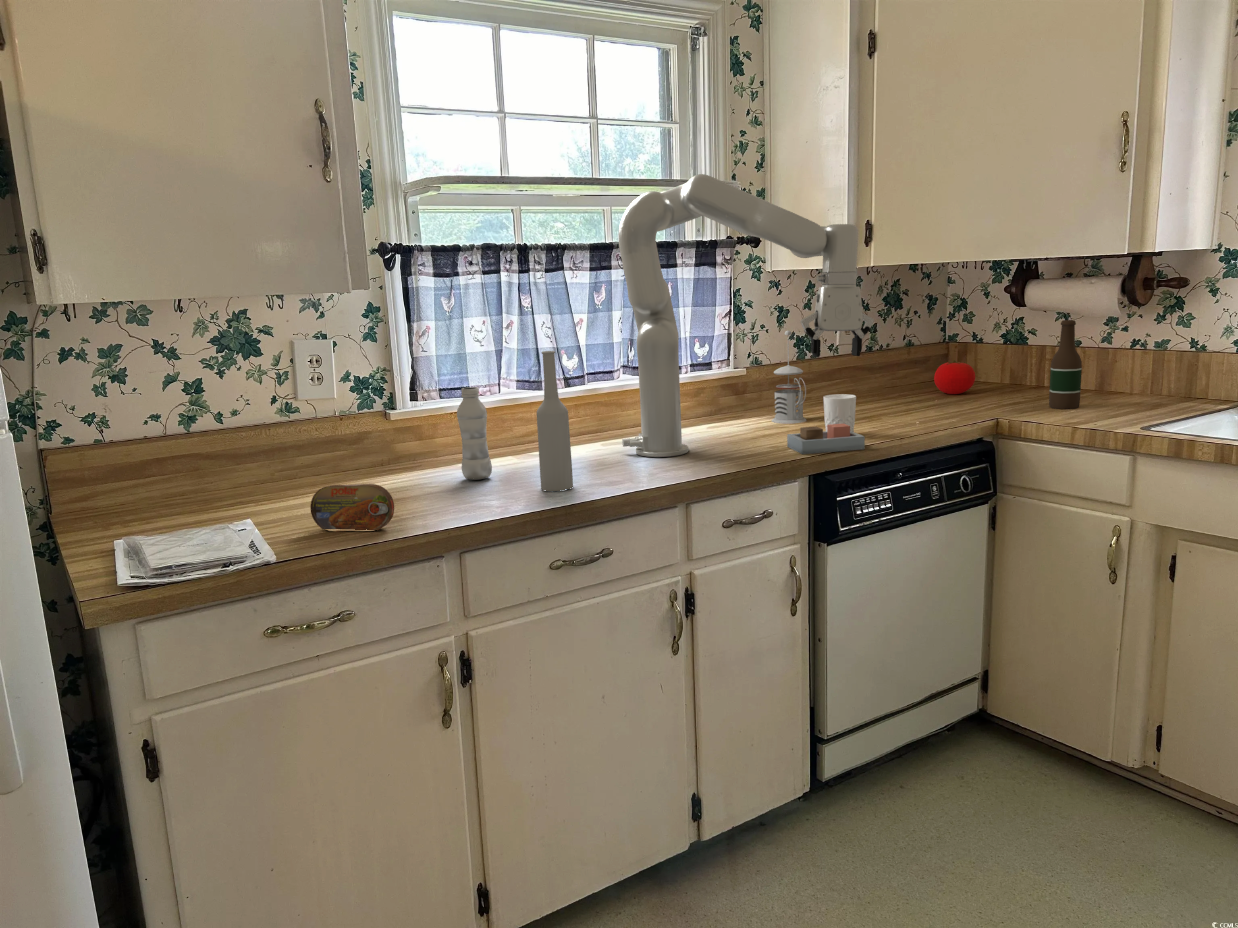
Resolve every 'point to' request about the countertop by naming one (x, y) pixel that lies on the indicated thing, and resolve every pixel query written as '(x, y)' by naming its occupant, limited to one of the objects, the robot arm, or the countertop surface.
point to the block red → (838, 430)
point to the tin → (352, 507)
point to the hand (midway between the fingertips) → (835, 356)
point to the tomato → (954, 377)
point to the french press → (789, 396)
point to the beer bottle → (1065, 371)
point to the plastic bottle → (473, 435)
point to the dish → (825, 443)
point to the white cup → (840, 410)
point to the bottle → (553, 433)
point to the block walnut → (811, 433)
